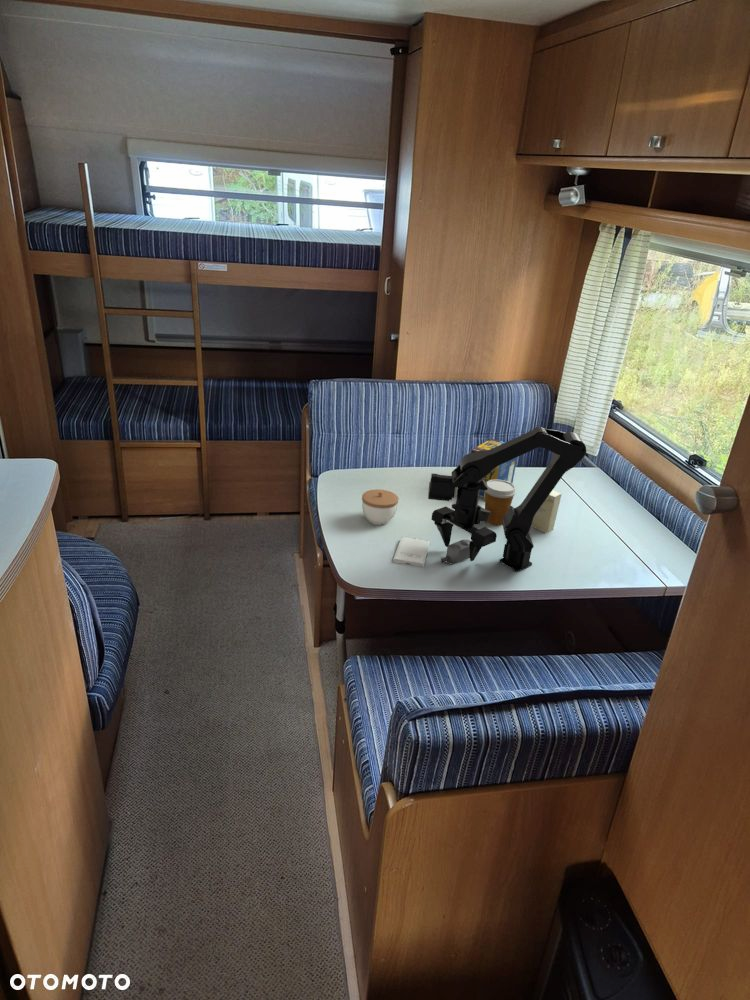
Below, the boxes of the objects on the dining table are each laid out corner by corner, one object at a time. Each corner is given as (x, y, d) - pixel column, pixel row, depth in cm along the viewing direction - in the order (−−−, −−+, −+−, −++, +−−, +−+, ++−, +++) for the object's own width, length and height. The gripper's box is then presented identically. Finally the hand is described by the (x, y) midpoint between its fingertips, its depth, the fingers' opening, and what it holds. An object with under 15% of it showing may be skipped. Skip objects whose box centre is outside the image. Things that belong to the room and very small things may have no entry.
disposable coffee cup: (515, 526, 197) (522, 491, 192) (487, 529, 194) (493, 493, 189) (501, 512, 205) (507, 477, 200) (474, 514, 202) (479, 479, 197)
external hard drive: (429, 546, 184) (423, 568, 173) (400, 541, 185) (392, 563, 174) (429, 541, 183) (423, 563, 172) (401, 536, 184) (393, 558, 173)
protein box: (464, 493, 217) (470, 449, 210) (485, 479, 228) (491, 437, 222) (493, 502, 212) (500, 458, 205) (512, 488, 223) (520, 445, 217)
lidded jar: (364, 529, 189) (366, 500, 185) (357, 512, 198) (359, 484, 194) (400, 528, 191) (402, 499, 187) (391, 511, 201) (394, 483, 197)
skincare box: (529, 525, 198) (536, 489, 193) (536, 521, 201) (543, 485, 196) (547, 533, 194) (555, 496, 189) (554, 529, 197) (562, 492, 192)
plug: (446, 567, 173) (448, 554, 171) (437, 562, 175) (438, 549, 173) (479, 553, 181) (481, 541, 179) (470, 548, 183) (471, 535, 181)
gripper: (514, 508, 169) (504, 559, 176) (461, 482, 182) (454, 531, 188) (486, 518, 162) (477, 572, 169) (433, 491, 175) (427, 542, 182)
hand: (459, 553), depth 177 cm, fingers open, 9 cm apart
